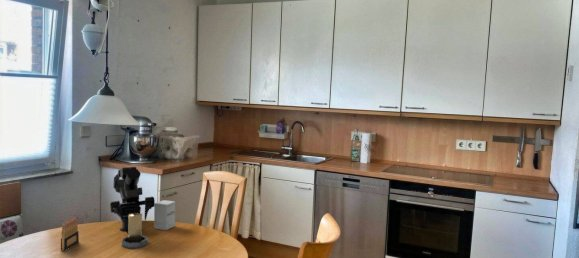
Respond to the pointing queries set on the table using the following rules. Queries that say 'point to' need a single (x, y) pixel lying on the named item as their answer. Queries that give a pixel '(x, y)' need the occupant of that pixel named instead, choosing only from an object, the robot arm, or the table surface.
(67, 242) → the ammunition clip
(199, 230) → the table surface
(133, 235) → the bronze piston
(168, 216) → the supplement box
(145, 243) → the ring collar
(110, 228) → the table surface
